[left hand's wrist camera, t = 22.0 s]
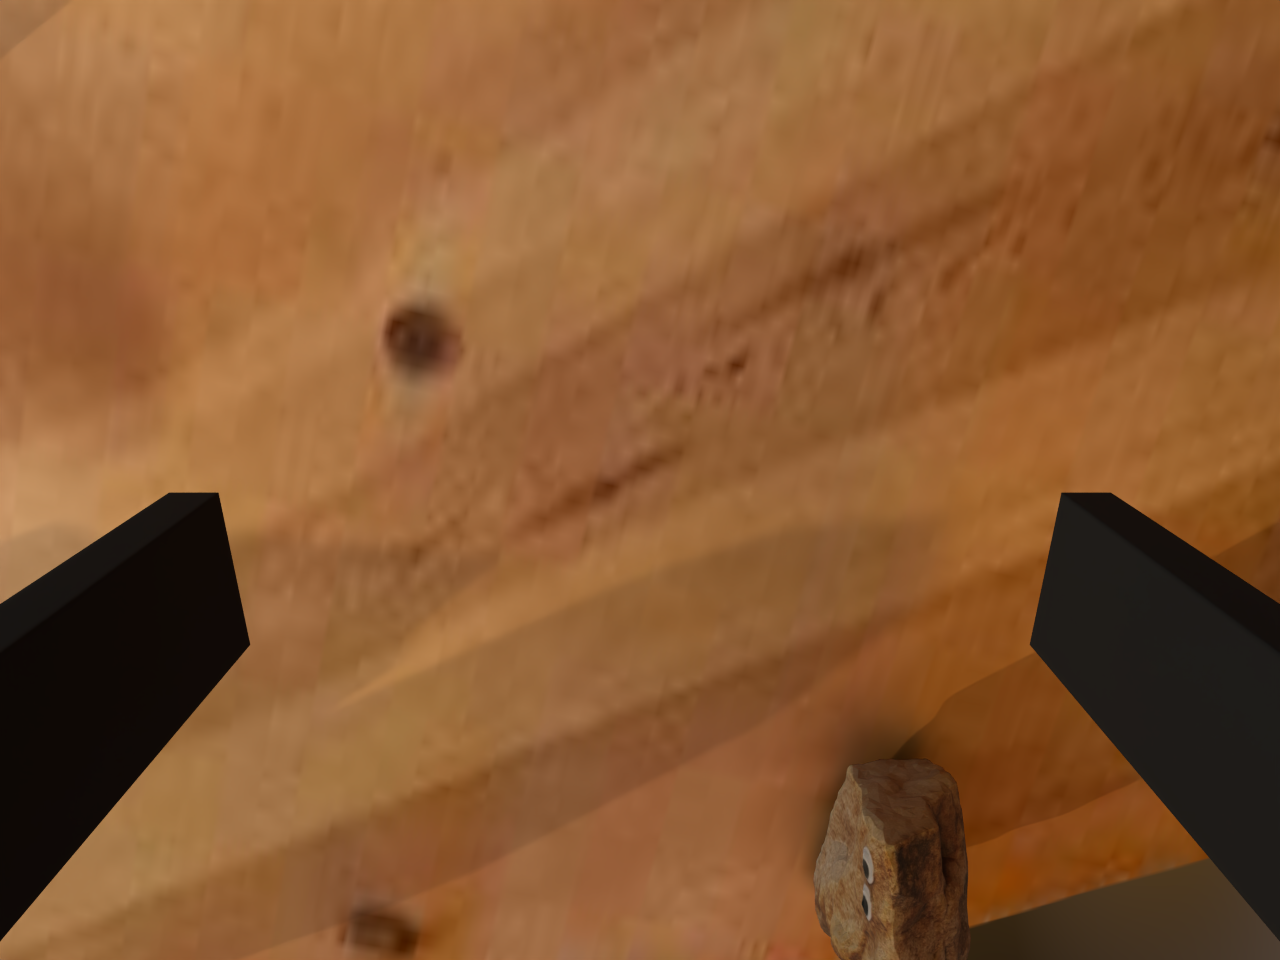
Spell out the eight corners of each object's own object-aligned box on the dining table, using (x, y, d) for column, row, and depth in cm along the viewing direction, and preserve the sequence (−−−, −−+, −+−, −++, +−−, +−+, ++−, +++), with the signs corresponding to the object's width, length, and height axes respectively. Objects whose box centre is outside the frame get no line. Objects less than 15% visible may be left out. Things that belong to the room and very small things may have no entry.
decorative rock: (826, 710, 38) (890, 899, 28) (949, 718, 38) (1056, 910, 28) (792, 892, 42) (835, 1113, 32) (902, 899, 42) (980, 1122, 32)
